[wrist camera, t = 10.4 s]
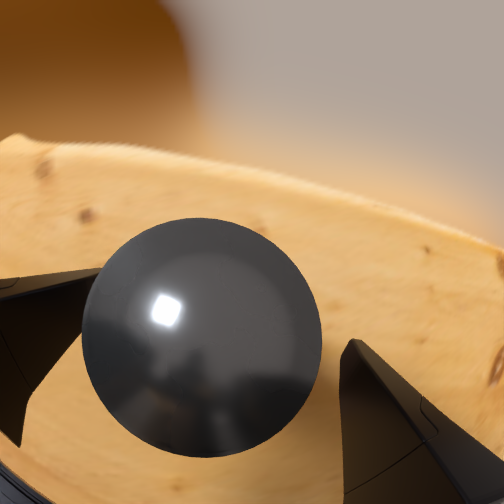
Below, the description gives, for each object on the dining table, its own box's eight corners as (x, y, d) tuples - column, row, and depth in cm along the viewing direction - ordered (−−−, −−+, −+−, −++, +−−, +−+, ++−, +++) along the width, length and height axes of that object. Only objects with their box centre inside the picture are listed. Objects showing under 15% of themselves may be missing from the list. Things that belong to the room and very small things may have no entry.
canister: (288, 341, 17) (370, 341, 5) (227, 396, 16) (191, 495, 4) (231, 282, 18) (206, 176, 6) (171, 335, 17) (48, 319, 5)
